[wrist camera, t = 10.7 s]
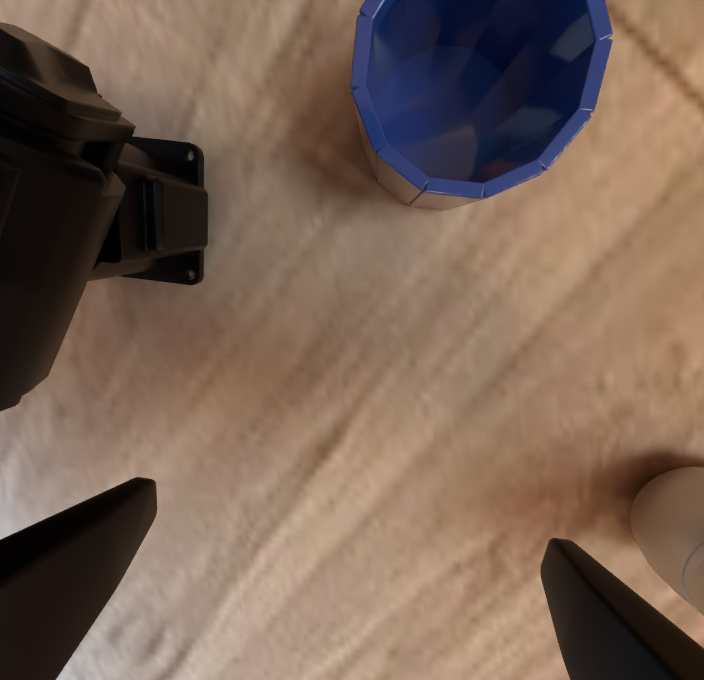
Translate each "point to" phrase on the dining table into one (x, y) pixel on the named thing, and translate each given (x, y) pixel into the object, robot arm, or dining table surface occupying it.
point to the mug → (473, 91)
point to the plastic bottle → (674, 530)
